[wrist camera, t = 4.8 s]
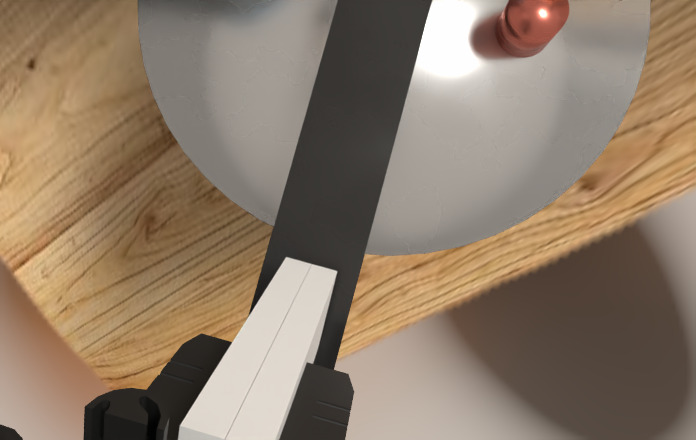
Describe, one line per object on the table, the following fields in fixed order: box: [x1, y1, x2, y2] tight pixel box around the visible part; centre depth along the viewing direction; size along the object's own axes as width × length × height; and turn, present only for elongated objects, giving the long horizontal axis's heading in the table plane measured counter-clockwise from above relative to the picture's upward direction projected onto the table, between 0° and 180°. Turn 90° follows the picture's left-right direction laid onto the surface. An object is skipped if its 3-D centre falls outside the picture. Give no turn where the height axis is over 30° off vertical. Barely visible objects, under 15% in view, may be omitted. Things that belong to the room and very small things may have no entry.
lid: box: [138, 0, 651, 370], centre depth 17 cm, size 19×26×3 cm
